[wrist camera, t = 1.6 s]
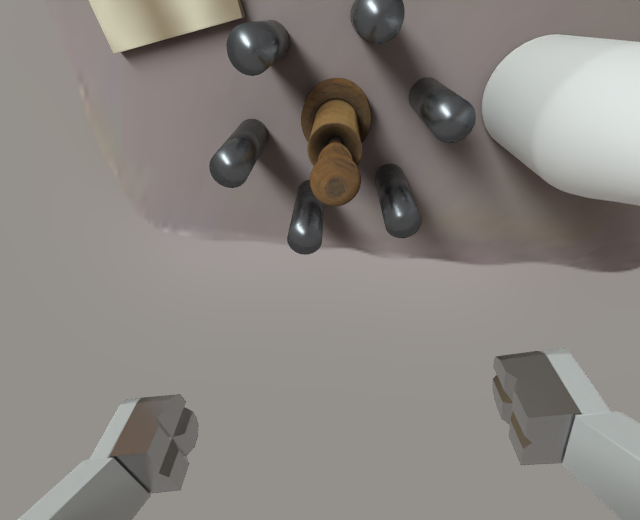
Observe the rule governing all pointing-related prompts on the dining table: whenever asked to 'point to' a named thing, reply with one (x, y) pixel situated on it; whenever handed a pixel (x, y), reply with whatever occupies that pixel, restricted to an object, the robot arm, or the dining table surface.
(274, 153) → the dining table surface
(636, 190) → the wine bottle
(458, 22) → the dining table surface
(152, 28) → the birch board
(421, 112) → the capsules
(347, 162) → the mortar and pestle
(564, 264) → the dining table surface
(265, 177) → the dining table surface
